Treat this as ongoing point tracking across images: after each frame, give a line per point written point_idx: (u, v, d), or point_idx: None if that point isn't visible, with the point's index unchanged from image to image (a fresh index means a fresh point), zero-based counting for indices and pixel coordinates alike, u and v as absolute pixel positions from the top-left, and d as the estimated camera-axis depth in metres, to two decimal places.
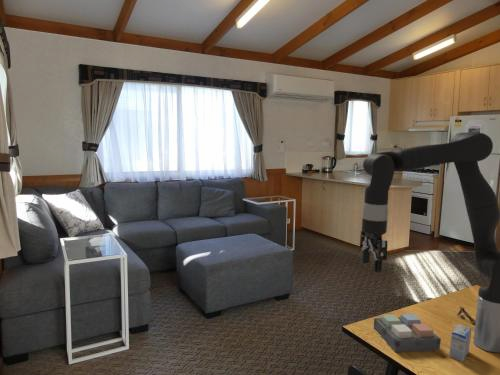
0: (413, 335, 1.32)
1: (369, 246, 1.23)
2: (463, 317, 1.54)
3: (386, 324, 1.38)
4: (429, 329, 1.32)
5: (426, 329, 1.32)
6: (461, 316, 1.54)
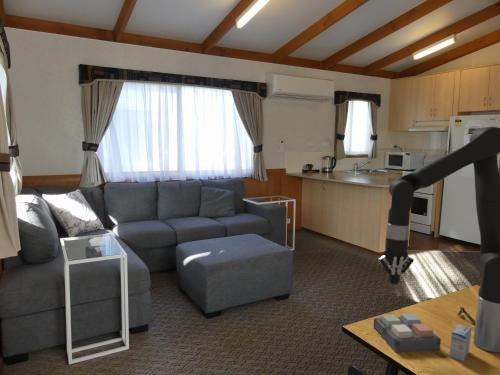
0: (413, 335, 1.32)
1: (396, 263, 1.36)
2: (463, 317, 1.54)
3: (386, 324, 1.38)
4: (429, 329, 1.32)
5: (426, 329, 1.32)
6: (461, 316, 1.54)
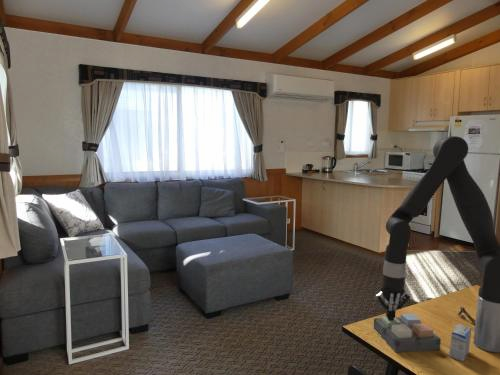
0: (413, 335, 1.32)
1: (393, 299, 1.38)
2: (464, 317, 1.53)
3: (386, 326, 1.38)
4: (429, 329, 1.32)
5: (426, 329, 1.32)
6: (462, 316, 1.54)
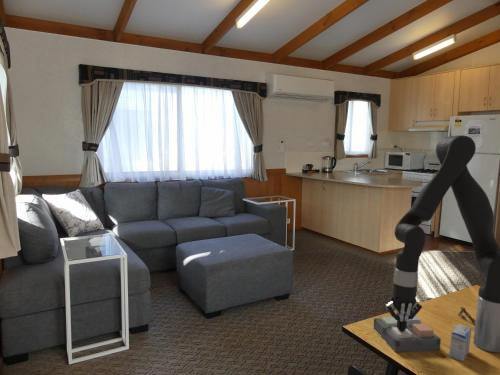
0: (413, 335, 1.32)
1: (404, 309, 1.30)
2: (464, 317, 1.53)
3: (386, 326, 1.38)
4: (429, 329, 1.32)
5: (426, 329, 1.32)
6: (462, 316, 1.54)
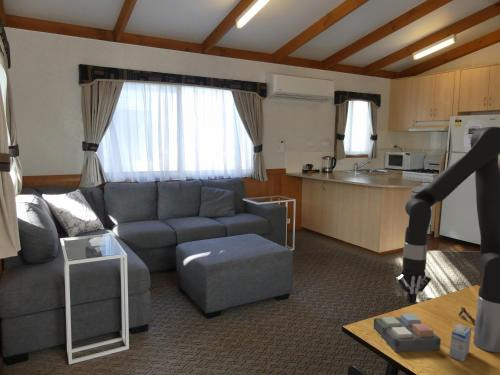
0: (413, 335, 1.32)
1: (414, 282, 1.35)
2: (464, 317, 1.53)
3: (386, 326, 1.38)
4: (429, 329, 1.32)
5: (426, 329, 1.32)
6: (462, 316, 1.54)
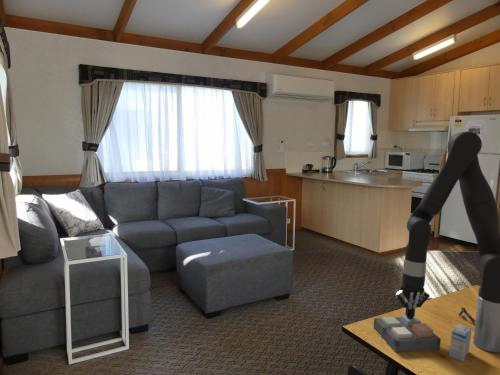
0: (413, 335, 1.32)
1: (412, 298, 1.39)
2: (464, 317, 1.53)
3: (386, 326, 1.38)
4: (429, 329, 1.32)
5: (426, 329, 1.32)
6: (462, 316, 1.54)
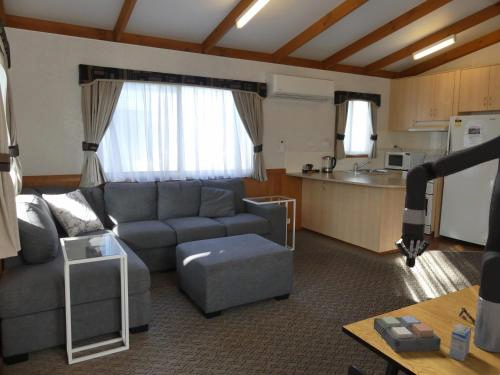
0: (413, 335, 1.32)
1: (413, 247, 1.40)
2: (465, 318, 1.53)
3: (386, 326, 1.38)
4: (429, 329, 1.32)
5: (426, 329, 1.32)
6: (463, 317, 1.54)
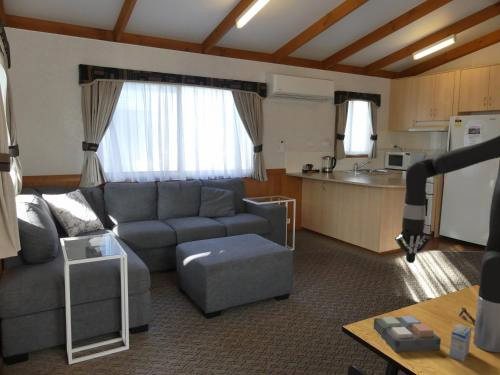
0: (413, 335, 1.32)
1: (413, 242, 1.41)
2: (465, 318, 1.53)
3: (386, 326, 1.38)
4: (429, 329, 1.32)
5: (426, 329, 1.32)
6: (463, 317, 1.54)
